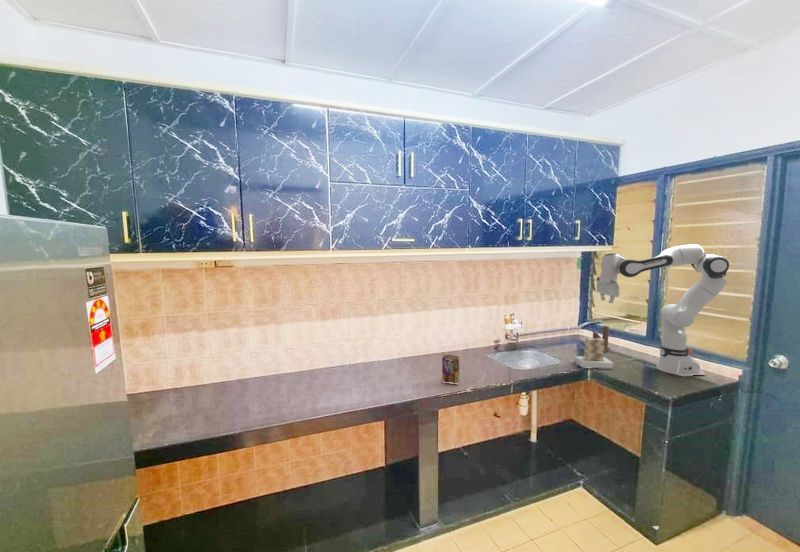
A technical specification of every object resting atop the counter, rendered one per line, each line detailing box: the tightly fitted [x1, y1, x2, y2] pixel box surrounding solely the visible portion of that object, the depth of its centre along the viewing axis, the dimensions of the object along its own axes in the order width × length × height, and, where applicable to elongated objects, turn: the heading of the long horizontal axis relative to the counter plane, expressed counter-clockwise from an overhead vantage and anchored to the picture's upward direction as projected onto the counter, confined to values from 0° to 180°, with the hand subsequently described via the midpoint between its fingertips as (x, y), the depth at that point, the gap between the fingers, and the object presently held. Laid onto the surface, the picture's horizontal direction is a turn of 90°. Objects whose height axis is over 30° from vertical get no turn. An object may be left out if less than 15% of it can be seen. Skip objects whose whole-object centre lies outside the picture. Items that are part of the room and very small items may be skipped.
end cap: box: [574, 355, 614, 370], centre depth 205 cm, size 18×10×4 cm, turn 84°
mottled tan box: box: [583, 337, 605, 361], centre depth 205 cm, size 10×3×16 cm, turn 85°
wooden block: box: [592, 325, 610, 353], centre depth 230 cm, size 4×11×18 cm, turn 104°
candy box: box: [441, 354, 461, 383], centre depth 181 cm, size 9×4×15 cm, turn 72°
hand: (606, 301), depth 207 cm, fingers open, 8 cm apart
